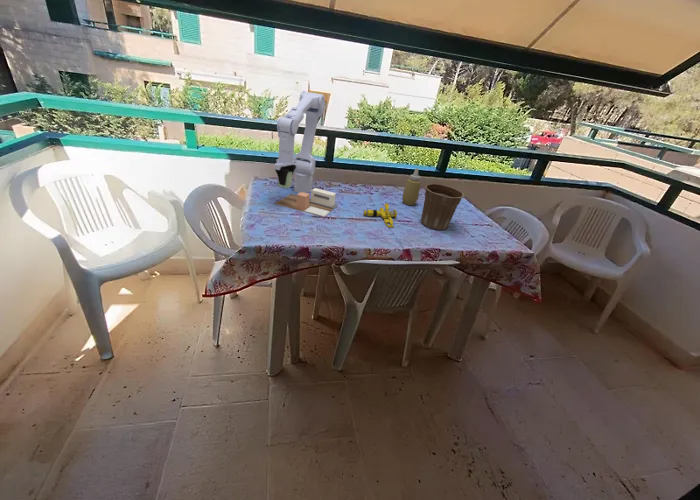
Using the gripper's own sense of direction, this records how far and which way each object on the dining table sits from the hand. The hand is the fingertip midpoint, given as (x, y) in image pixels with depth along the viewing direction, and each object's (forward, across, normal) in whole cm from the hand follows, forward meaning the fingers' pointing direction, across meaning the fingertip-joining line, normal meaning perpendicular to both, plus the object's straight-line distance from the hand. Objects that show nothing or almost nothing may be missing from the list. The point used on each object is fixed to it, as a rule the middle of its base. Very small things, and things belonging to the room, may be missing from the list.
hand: (284, 183), depth 135 cm
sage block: (+1, 0, 0) cm, 1 cm away
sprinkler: (+10, -14, +40) cm, 44 cm away
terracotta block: (+9, 0, +8) cm, 12 cm away
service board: (+10, -4, +8) cm, 14 cm away
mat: (+9, 0, +15) cm, 18 cm away
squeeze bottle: (+10, -41, +48) cm, 64 cm away
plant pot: (+10, -22, +63) cm, 67 cm away
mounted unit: (+10, -10, +14) cm, 20 cm away
